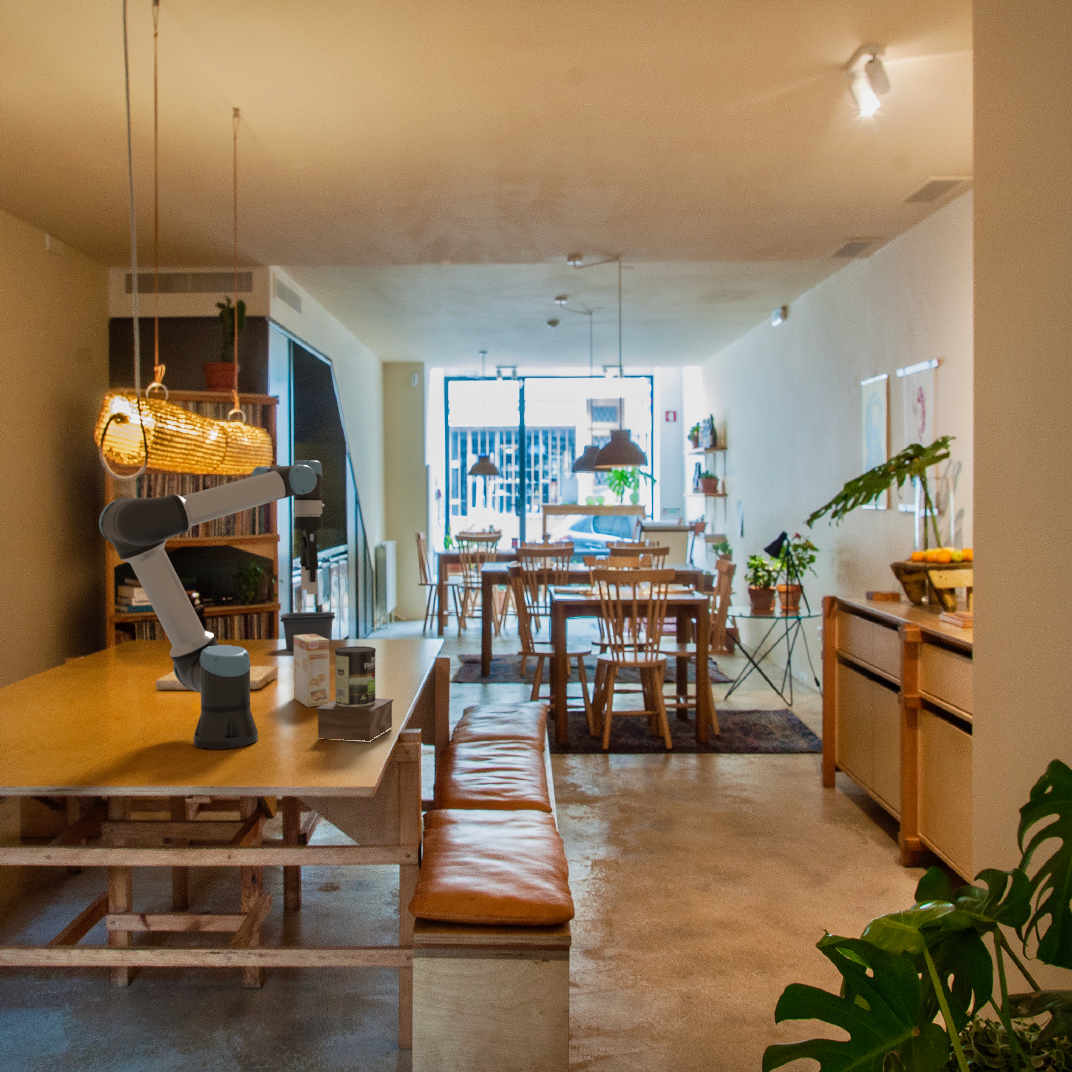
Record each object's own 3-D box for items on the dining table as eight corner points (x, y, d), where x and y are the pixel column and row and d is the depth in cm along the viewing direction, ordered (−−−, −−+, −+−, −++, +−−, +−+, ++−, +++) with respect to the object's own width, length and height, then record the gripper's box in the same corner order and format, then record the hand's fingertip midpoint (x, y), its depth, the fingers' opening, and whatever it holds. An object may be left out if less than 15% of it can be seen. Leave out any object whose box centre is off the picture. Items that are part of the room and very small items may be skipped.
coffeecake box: (330, 705, 273) (330, 639, 272) (306, 707, 269) (306, 641, 269) (316, 696, 286) (315, 633, 285) (293, 698, 282) (292, 634, 282)
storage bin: (278, 651, 370) (278, 616, 370) (285, 645, 386) (285, 611, 385) (332, 651, 372) (332, 615, 372) (337, 645, 388) (337, 611, 387)
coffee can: (381, 700, 242) (381, 646, 242) (366, 708, 232) (366, 652, 232) (345, 698, 244) (344, 645, 244) (328, 706, 234) (328, 651, 234)
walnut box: (370, 743, 229) (369, 711, 229) (316, 739, 233) (316, 708, 233) (393, 729, 244) (393, 699, 243) (342, 726, 247) (342, 696, 247)
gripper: (328, 516, 248) (329, 595, 249) (316, 515, 271) (316, 587, 272) (299, 516, 245) (300, 596, 246) (289, 515, 269) (290, 588, 269)
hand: (309, 591), depth 259 cm, fingers open, 13 cm apart
